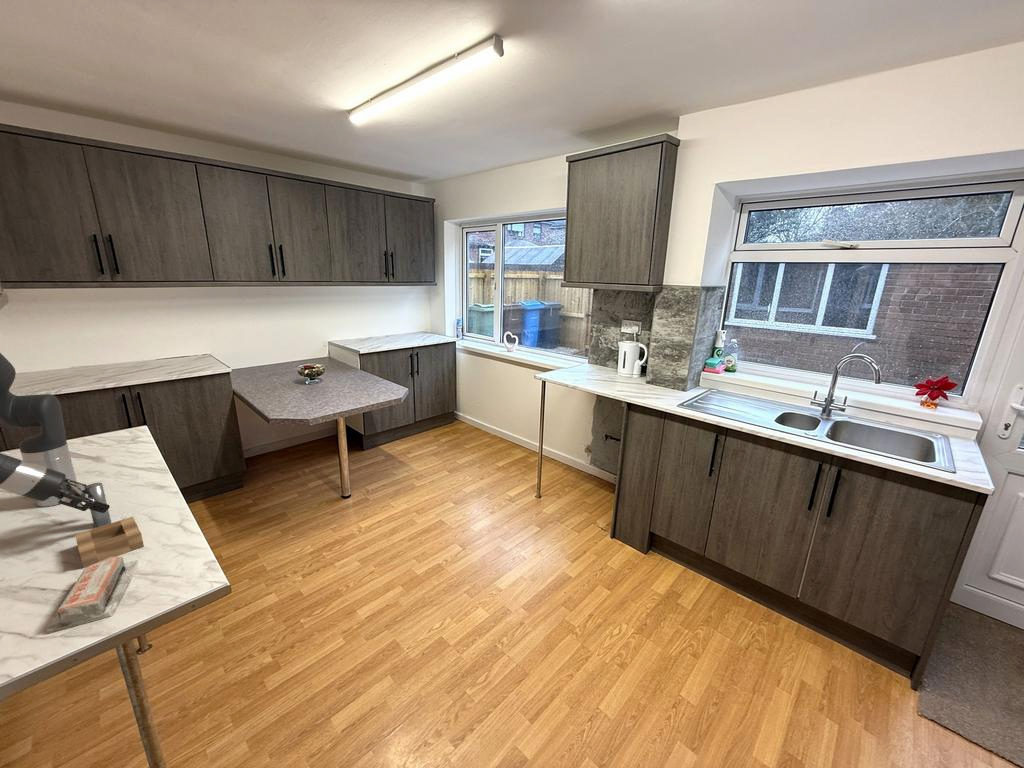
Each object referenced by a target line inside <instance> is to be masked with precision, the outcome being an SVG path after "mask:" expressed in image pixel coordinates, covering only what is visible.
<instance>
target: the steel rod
mask: <svg viewBox="0 0 1024 768" xmlns="http://www.w3.org/2000/svg"><path fill="white" fill-rule="evenodd" d="M86 485H87V486H85V492H86V494H88V497H89V498H91V499H94V500H96V501H99V502H102V503H105V504H108V503H107V497H106V494H105V489H104V486H103V483H102V482H93V483H90V484H89V483H88V484H86ZM89 511H90V514H91V515H90V516H91V520H92V523H93V526H94V528H95V527H96V528H97V527H101V526H104V525H107V524H110V523H112V520H111V515H110V511H109V509H108V510H107V511H106V512H105V513H101V512H97V511H94V510H91V509H89Z"/></svg>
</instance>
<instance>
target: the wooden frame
mask: <svg viewBox="0 0 1024 768" xmlns="http://www.w3.org/2000/svg"><path fill="white" fill-rule="evenodd" d="M74 537H75V541H76V544H77V548H78V549H77V550H78V553H79V557H80V560H81V564H82V568H83V569H85V568H86V567H88V566H90V565H92V564H95V563H97V562H100V561H102V560H105V559H107V558H109V557H120V556H121V555H124V554H127V553H130V552H132V551H136V550H139V549H141V548H144V547H145V545H144V540H143V536H142V532H141V530H140V528H139V525H138V524H137V522H136V521H135V519H134V516H131V517H127V518H124V519H121V520H117V521H114V522H111V523H110V524H107V525H104V526H101V527H97V528H95V527H94V528H91V529H88V530H85V531H82V532H79V533H76V534H74Z"/></svg>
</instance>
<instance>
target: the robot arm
mask: <svg viewBox="0 0 1024 768" xmlns="http://www.w3.org/2000/svg"><path fill="white" fill-rule="evenodd" d="M16 374H17V373H16V368H15V367H14V366H13V364H12V363H11V362H10V361H9V360H8V358H6V357H5V355H3V354H2V353H1V352H0V421H1V422H2V423H3V424H5V425H7V426H8V427H10V428H17V429H19V428H20V429H21V428H33V427H41V432H40V433H37V434H34V435H32V436H29V437H26V438H24V439H22V440H21V441H19V444H18V447H19V450H20V451H19V452H20V454H21V457H22V459H20V458H16V457H13V456H10V455H7V454H4V453H2V452H1V453H0V490H3V491H5V492H8V493H12V494H13V495H14V494H15V495H18V496H21V497H25V498H29V499H31V500H34V503H35V505H36V506H37V507H51V506H57V505H63V506H67V507H70V508H73V509H77V510H79V511H82V512H86V511H87V510H90V509H91V510H94V511H97V512H101V513H105V512H106V511H107V510H109V509H110V507H111V506H110V505H109V504H108V503H107V504H105V503H102V502H99V501H96V500H94V499H91V498H89V497H88V494H86V492H85V486H87V485H88V484H86V483H81V482H79V481H77V478H76V473H75V469H74V466H73V461H72V457H71V454H70V450H69V446H68V443H67V442H68V441H67V435H66V434H67V433H66V428H65V423H64V418H63V411H62V410H63V409H62V405H61V403H60V400H59V399H58V397H57V396H55V394H50V393H46V394H44V393H43V394H41V393H40V394H30V395H29V394H28V395H15V394H13V393H12V392H11V391H10V388H11V387H12V385H13V383H14V381H15V379H16ZM83 503H84V504H83Z"/></svg>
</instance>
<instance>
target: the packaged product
mask: <svg viewBox="0 0 1024 768" xmlns="http://www.w3.org/2000/svg"><path fill="white" fill-rule="evenodd" d="M138 564H139V561H138V559H135V560H131V561H128V562H125V561H124V557H123V556H116V557H109V558H107V559H105V560H102V561H100V562H97V563H95V564H92V565H90V566H88V567H85V568H83V569H84V570H83V571H82V572H81V574H80V575H79V577H78V578H77V580H76V582H75V583H74V585H73V587H72V588H70V591H69V592H68V594H67V595H66V596H65V598H64V600H63V601H62V603H61V605H60V606H59V608H58V609H57V611H56V616H54V618H53V620H52V622H51V623H50V625H49V626H48V628H47V630H46V633H47V634H50V632H51V633H54V631H55V632H59V631H63V630H67V629H69V628H73V627H77V626H81V625H84V624H88V623H93V622H94V621H99V620H103V619H106V618H110V617H113V616H114V615H115V613H116V611H117V609H118V607H119V605H120V603H121V601H122V600H123V598H124V596H125V593H126V592H127V590H128V588H129V586H130V584H131V582H132V580H133V577H134V575H135V573H136V571H137V568H138Z"/></svg>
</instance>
